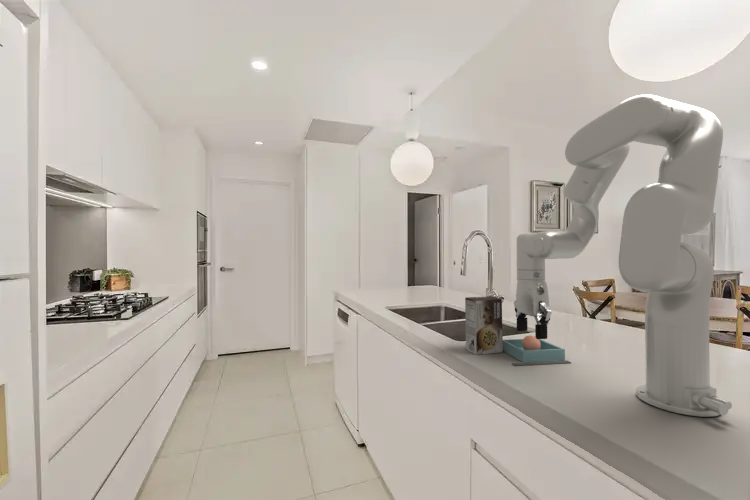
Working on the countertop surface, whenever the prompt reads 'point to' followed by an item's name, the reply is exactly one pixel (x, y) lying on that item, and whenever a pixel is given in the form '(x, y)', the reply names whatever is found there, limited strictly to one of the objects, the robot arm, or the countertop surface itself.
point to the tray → (533, 351)
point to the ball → (531, 343)
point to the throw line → (541, 363)
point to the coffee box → (484, 325)
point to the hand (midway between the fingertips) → (531, 334)
